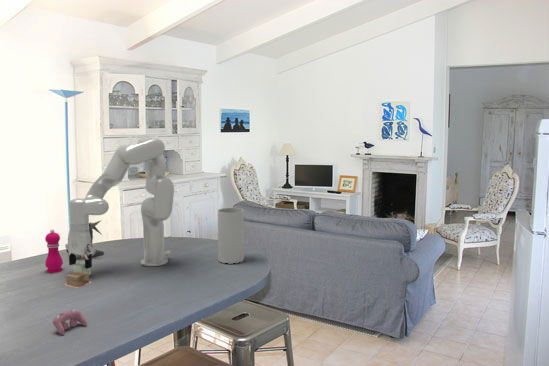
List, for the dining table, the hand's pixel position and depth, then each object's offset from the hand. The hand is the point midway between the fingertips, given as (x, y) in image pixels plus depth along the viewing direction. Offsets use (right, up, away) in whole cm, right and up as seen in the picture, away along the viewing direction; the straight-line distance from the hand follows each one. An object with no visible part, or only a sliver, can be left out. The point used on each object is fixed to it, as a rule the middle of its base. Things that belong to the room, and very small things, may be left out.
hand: (80, 266), depth 218 cm
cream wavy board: (+2, -6, -5) cm, 8 cm away
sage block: (0, -4, +1) cm, 4 cm away
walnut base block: (+3, -6, -10) cm, 12 cm away
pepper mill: (-14, -4, +7) cm, 17 cm away
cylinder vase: (+63, -2, +27) cm, 69 cm away
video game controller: (+16, -13, -50) cm, 54 cm away
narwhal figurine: (-8, -1, +31) cm, 33 cm away
